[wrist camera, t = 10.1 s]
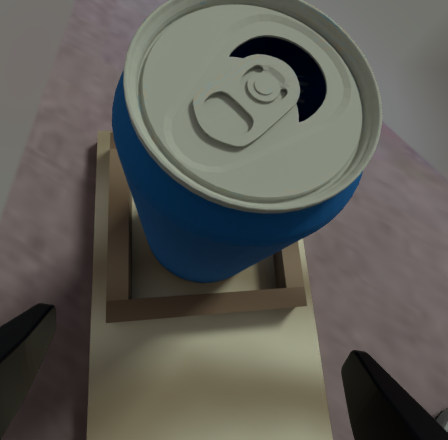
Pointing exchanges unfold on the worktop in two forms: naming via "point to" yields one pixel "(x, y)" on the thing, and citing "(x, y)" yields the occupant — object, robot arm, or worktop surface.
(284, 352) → the can holder
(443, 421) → the ceramic mug
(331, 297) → the worktop surface
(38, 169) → the worktop surface
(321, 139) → the beverage can
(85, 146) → the worktop surface
